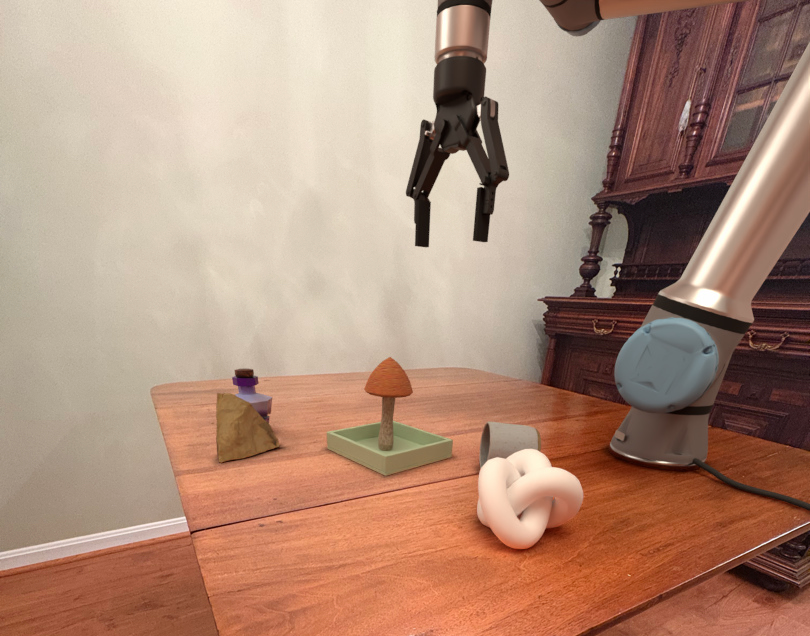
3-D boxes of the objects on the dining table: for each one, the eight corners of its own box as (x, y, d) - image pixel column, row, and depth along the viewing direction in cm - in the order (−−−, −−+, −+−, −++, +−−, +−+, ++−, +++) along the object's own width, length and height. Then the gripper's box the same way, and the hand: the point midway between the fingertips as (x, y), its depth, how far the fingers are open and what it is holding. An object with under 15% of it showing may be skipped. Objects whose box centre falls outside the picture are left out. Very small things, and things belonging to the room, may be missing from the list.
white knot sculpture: (448, 513, 54) (454, 444, 49) (531, 504, 57) (544, 438, 52) (487, 560, 44) (498, 479, 40) (585, 546, 47) (605, 470, 43)
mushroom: (417, 455, 72) (420, 359, 64) (371, 458, 70) (369, 360, 62) (403, 441, 78) (405, 353, 71) (361, 444, 76) (358, 353, 69)
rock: (280, 428, 78) (221, 422, 75) (281, 395, 70) (216, 387, 68) (279, 478, 74) (217, 474, 71) (279, 449, 66) (210, 444, 63)
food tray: (451, 457, 73) (453, 439, 71) (385, 476, 65) (385, 456, 63) (391, 435, 84) (391, 419, 82) (327, 449, 75) (326, 431, 74)
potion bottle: (231, 443, 77) (218, 373, 71) (228, 431, 84) (216, 366, 78) (280, 439, 80) (271, 371, 74) (273, 427, 87) (265, 364, 81)
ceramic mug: (538, 479, 65) (547, 429, 61) (484, 479, 64) (491, 428, 61) (520, 458, 74) (527, 413, 70) (473, 457, 74) (478, 412, 70)
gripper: (550, 42, 55) (524, 241, 66) (420, 97, 71) (416, 250, 82) (515, 19, 51) (493, 236, 61) (386, 84, 67) (385, 246, 77)
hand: (449, 244), depth 72 cm, fingers open, 13 cm apart
